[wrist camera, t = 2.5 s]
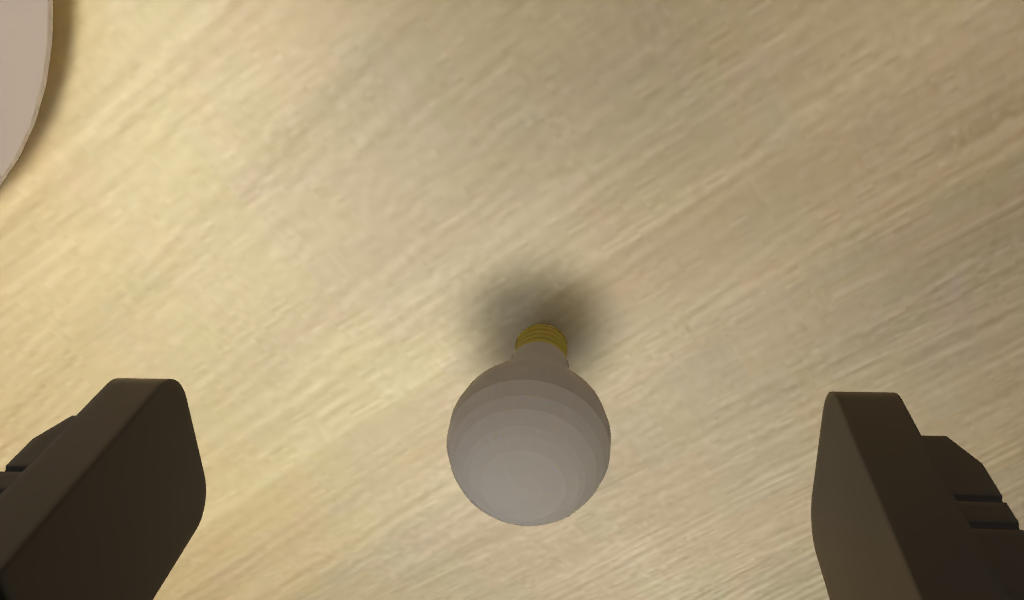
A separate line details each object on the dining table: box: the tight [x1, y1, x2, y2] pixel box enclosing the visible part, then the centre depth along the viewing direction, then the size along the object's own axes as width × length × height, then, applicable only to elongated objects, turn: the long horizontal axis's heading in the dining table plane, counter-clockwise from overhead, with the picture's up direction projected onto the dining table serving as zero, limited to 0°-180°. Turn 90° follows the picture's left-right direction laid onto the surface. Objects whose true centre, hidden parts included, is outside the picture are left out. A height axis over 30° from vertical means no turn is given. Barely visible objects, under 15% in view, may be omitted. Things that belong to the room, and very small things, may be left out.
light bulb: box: [447, 324, 611, 526], centre depth 32 cm, size 6×6×10 cm
